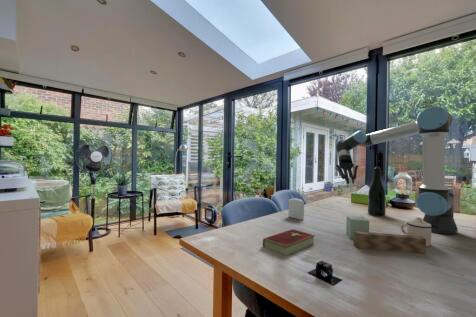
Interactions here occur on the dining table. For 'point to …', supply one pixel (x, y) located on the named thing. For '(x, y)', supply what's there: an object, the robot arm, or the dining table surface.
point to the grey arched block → (296, 208)
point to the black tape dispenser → (325, 273)
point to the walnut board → (390, 242)
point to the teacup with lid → (418, 229)
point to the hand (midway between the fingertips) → (351, 187)
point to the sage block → (356, 225)
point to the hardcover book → (288, 241)
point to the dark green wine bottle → (377, 195)
